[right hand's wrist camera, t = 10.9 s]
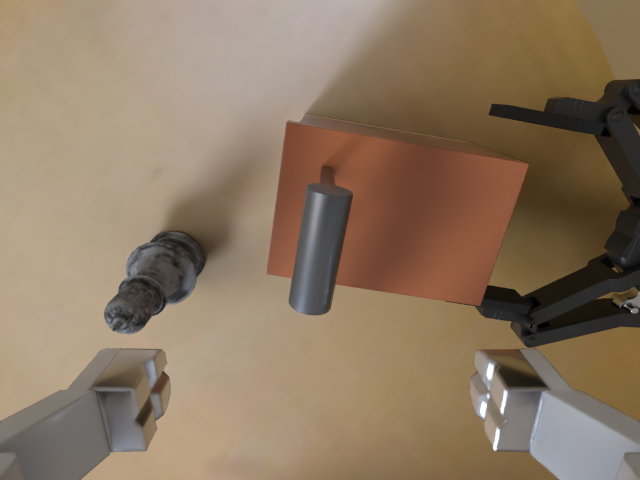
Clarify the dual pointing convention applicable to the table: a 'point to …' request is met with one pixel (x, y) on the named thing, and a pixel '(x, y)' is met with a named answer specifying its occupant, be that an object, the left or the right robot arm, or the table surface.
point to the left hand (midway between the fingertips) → (467, 206)
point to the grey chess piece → (155, 281)
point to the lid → (387, 216)
